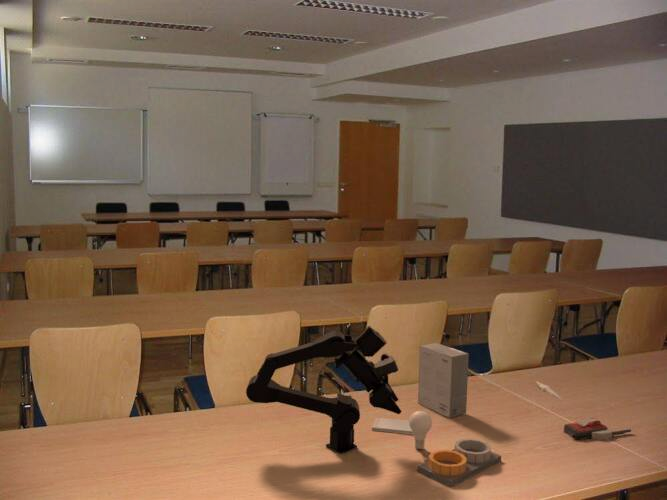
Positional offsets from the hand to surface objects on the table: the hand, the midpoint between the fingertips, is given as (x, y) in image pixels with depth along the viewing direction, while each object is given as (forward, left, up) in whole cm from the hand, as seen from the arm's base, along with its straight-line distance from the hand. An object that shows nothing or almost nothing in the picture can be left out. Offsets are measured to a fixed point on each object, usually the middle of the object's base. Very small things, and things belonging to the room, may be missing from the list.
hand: (398, 406), depth 192 cm
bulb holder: (+4, -18, -12) cm, 22 cm away
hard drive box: (+33, +11, -12) cm, 37 cm away
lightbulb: (+5, -4, -12) cm, 14 cm away
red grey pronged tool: (+53, -32, -13) cm, 64 cm away
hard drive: (+11, +11, -13) cm, 20 cm away
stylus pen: (+75, -4, -13) cm, 76 cm away
